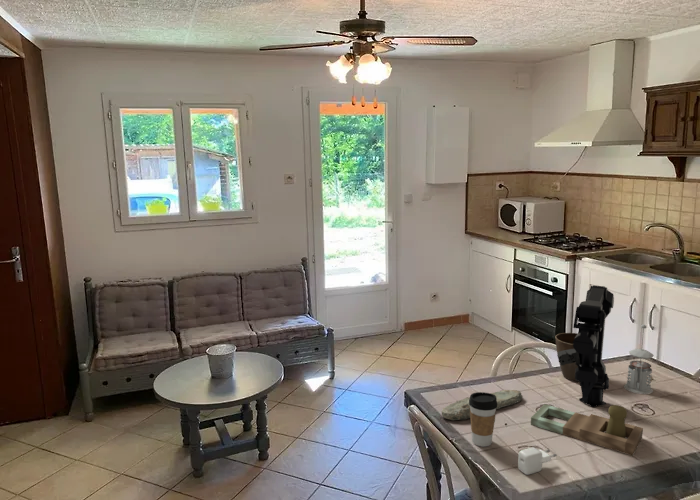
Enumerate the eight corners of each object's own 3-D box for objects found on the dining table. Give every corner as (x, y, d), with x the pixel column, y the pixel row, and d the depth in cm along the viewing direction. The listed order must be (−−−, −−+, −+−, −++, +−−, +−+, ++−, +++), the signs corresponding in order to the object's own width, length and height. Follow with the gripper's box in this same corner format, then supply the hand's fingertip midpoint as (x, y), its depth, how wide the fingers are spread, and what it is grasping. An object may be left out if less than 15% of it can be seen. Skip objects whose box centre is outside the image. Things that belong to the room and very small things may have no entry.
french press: (654, 386, 207) (659, 323, 202) (651, 398, 197) (657, 331, 193) (625, 381, 212) (630, 319, 208) (621, 392, 202) (626, 327, 198)
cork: (624, 437, 170) (627, 404, 168) (627, 446, 165) (630, 412, 163) (603, 434, 172) (606, 401, 170) (605, 443, 167) (608, 410, 165)
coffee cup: (490, 451, 163) (492, 404, 160) (463, 444, 167) (465, 398, 165) (499, 439, 170) (501, 393, 167) (473, 432, 174) (474, 388, 172)
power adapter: (545, 459, 158) (547, 440, 157) (558, 467, 154) (559, 448, 153) (515, 468, 154) (516, 449, 153) (527, 477, 150) (528, 457, 149)
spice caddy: (642, 438, 169) (642, 428, 169) (632, 455, 160) (633, 444, 159) (544, 410, 188) (544, 401, 188) (530, 424, 179) (531, 414, 178)
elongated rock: (529, 406, 195) (509, 397, 204) (530, 392, 195) (509, 383, 203) (454, 425, 178) (434, 414, 186) (454, 410, 177) (435, 399, 186)
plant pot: (548, 369, 224) (550, 332, 221) (584, 369, 223) (587, 332, 220) (560, 385, 209) (563, 345, 206) (600, 385, 209) (603, 345, 206)
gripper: (561, 332, 181) (558, 376, 183) (558, 350, 164) (555, 399, 166) (597, 336, 176) (594, 381, 179) (599, 355, 159) (595, 405, 162)
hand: (584, 391), depth 172 cm, fingers open, 9 cm apart
